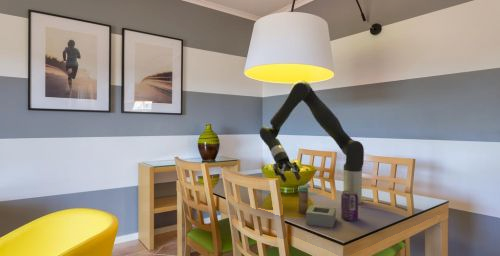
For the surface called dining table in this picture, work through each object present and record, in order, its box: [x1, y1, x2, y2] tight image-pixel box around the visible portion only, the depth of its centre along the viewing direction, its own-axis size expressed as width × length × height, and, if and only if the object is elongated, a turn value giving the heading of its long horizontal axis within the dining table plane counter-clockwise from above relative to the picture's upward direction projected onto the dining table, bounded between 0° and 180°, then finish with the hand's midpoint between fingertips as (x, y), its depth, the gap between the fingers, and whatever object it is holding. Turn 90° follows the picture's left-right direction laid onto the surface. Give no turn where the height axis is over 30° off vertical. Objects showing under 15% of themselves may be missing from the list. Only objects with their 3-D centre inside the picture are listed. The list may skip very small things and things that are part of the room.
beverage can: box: [340, 190, 359, 222], centre depth 125 cm, size 7×7×12 cm
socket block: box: [305, 204, 337, 229], centre depth 122 cm, size 11×11×5 cm
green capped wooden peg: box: [298, 185, 309, 214], centre depth 135 cm, size 4×4×12 cm
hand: (292, 180), depth 142 cm, fingers open, 8 cm apart
